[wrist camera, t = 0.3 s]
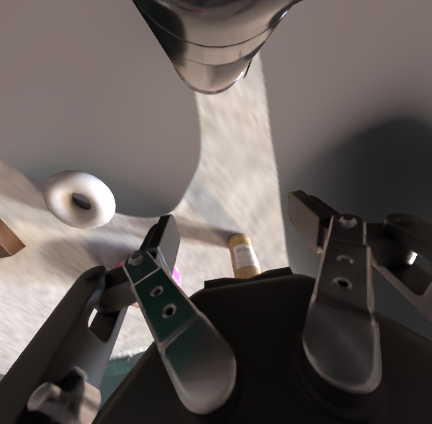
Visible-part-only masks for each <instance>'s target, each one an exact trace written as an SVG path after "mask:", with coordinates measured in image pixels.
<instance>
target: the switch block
mask: <svg viewBox="0 0 432 424" xmlns="http://www.w3.org/2000/svg"><path fill="white" fill-rule="evenodd" d="M24 247H26V246H25V245H24V244H23V243H22V242H21V241H20V240H19V238H18V237H17V236H16V235H15V234H14V233H13V232H12V231H11V230H10V229H9V228H8V226H7V225H6V224H5V223H4V222H3V221H2V220H1V219H0V258H4V257H9V256H13V255H14V254H16V253H17V252H19V251H20V250H21V249H23V248H24Z"/></svg>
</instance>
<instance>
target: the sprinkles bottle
mask: <svg viewBox="0 0 432 424" xmlns="http://www.w3.org/2000/svg"><path fill="white" fill-rule="evenodd" d="M228 246H229V248H230V253H231V254H230V256H231V262H232V267H233V271H234V276H235V278H242V279H248V278H251V277H253V276H256V275H258V274H261V270H260V267H259V264H258V262H257V259H256V256H255V253H254V250H253V248H252V246H251V241H250V239H249V237H248V236H246V235H244V234H237V235H234V236H232V237H231V238H230V239H229V242H228Z"/></svg>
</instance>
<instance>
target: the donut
mask: <svg viewBox="0 0 432 424" xmlns="http://www.w3.org/2000/svg"><path fill="white" fill-rule="evenodd" d="M73 193H78V194H81V195H83V196H84V197H86V198H87V199H88V201H89V202H90V205H91V209H90V210H86V209H83V208H81V207H79V206H78V205H76V204H75V202H74V201H73V198H72V194H73ZM43 196H44V201H45V203H46V205H47V207H48V209H49V210H50V212H51V213H52V214H53V215H54V216H55V217H56V218H57V219H59V220H60V221H61V222H63V223H65V224H67V225H69V226H71V227H75V228H79V229H95V228H99V227H102V226H103V225H105V224H106V223H108V222H109V221H110V220H111V218H112V216H113V215H114V212H115V201H114V197H113V195H112V193H111V192H110V190H109V188H108V187H107V186H106V185H105V184H104V183H103V182H102V181H101V180H99V179H97V178H96V177H94V176H92V175H90V174H87V173H84V172H80V171H63V172H60V173H57V174H55V175H53V176H52V177H51V178H50V179H49V180H47V182H46V184H45V187H44V190H43Z"/></svg>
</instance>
